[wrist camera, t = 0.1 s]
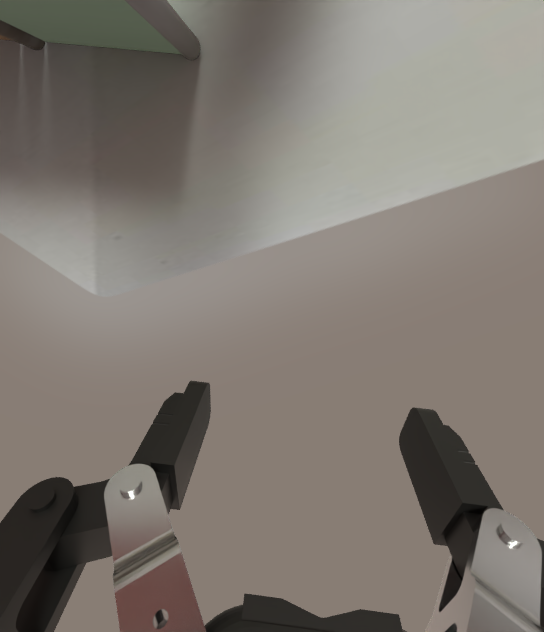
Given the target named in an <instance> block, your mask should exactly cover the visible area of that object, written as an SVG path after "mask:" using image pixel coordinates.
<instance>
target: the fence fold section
mask: <svg viewBox="0 0 544 632" xmlns="http://www.w3.org/2000/svg"><path fill="white" fill-rule="evenodd" d="M0 20H2V21H4V22H6V23H8V24H10V25H12V26H14V27H16V28H18V29H20V30H22V31H24V32H26V33H29V34H31V35H33V36H35V37H37V38H39V39H41V40H43V41H45V42H52V43H63V44H74V45H85V46H96V47H108V48H119V49H130V50H141V51H152V52H163V53H175V54H182V55H183V56H185V57H186V58H187V59H189V60H195V59H196V58H197V57H198V56H199V54H200V43H199V40H198V39H197V37H196V36H195V35H194V34H193V32H192V31H191V30H190V29H189V27H188V26H187V25H186V24H185V22H184V21H183V20H182V19H181V18H180V16H179V15H178V14H177V13H176V11H175V10H174V9H173V8H172V6H171V5H170V4H169V3H168V1H167V0H0Z"/></svg>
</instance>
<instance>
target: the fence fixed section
mask: <svg viewBox="0 0 544 632" xmlns="http://www.w3.org/2000/svg"><path fill="white" fill-rule="evenodd" d="M0 39H2V40H13V41H16V42H18V43H20V44H23V45H25V46H27V47H30V48H32V49H34V50H40V49H42V48H43V46H44V44H45V41H43V40H41V39H39V38H37V37H35V36H33V35H31V34H29V33H26V32H24V31H22V30H20V29H18V28H16V27H14V26H12V25H10V24H8V23H6V22H4V21H2V20H0Z"/></svg>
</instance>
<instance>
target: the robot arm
mask: <svg viewBox="0 0 544 632" xmlns="http://www.w3.org/2000/svg"><path fill="white" fill-rule="evenodd" d="M210 409H211V407H210V384H209V383H204V382H197V381H190V382H189V384H188V386H187V388H186V390H185V392H184V394H183V393H174V394H173V395H172V396H170V397H169V398H168V399H167V400H166V401H165V402H164V403H163V405H162V407H161V409H160V411H159V412H158V415H157V416H156V418H155V420H154V421H153V424H152V425H151V427H150V429H149V430H148V432H147V434H146V436H145V438H144V440H143V441H142V443H141V445H140V447H139V449H138V451H137V452H136V454H135V456H134V458H133V460H132V461H131V463H130V464H129V465H128V466H126V467H124V468H122V469H121V470H119V471H118V472H117V473H116V474H115V475H113V477H112V478H111V479H108V480H105V481H102V482H97V483H92V484H87V485H82V486H76V487H73V485H72V483H71V482H70V481H69V480H68V479H65V478H61V477H56V478H50V479H46V480H44V481H41V482H39V483H37V484H36V485H34V486H33V487H31V488H30V489H28V490H27V491H26V492H25V493H24V494H23V495H22V496H21V497H20V498H19V499H18V500H17V502H16V503H15V504H14V506H13V507H12V508H11V510H10V511H9V512H8V513H7V515H6V516H5V517H4V519H3V520H2V521H1V523H0V632H54V630H55V628H56V626H57V624H58V622H59V619H60V617H61V615H62V613H63V611H64V608H65V607H66V605H67V602H68V600H69V598H70V596H71V594H72V592H73V589H74V588H75V585H76V583H77V581H78V579H79V577H80V575H81V573H82V571H83V569H84V566H85V564H86V563H87V562H90V561H94V560H98V559H102V558H106V557H110V556H113V563H114V574H113V581H114V591H115V598H116V605H117V613H118V621H119V628H120V632H407V631H405V630H403V629H402V626H401V622H400V618H399V615H398V614H390V613H383V612H375V611H368V610H361V609H360V610H356V611H352V612H348V613H343V614H340V615H335V616H331V617H327V618H320V617H318V616H316V615H314V614H311V613H310V612H308V611H306V610H304V609H301V608H300V607H298V606H296V605H294V604H292V603H290V602H288V601H286V600H283V599H281V598H273V597H266V596H259V595H252V594H244V603H243V605H240V606H236V607H233V608H230V609H228V610H226V611H224V612H222V613H220V614H219V615H217V616H216V617H214V618H213V619H212V620H211V621H210V622H208V623H207V624H206V625H205V626H204V623H203V620H202V616H201V613H200V610H199V607H198V603H197V600H196V597H195V594H194V591H193V588H192V584H191V581H190V578H189V574H188V571H187V568H186V565H185V562H184V559H183V555H182V552H181V549H180V546H179V543H178V540H177V538H176V537H175V535H174V532H173V529H172V526H171V523H170V519H169V516H168V514H169V512H170V509H177V510H180V508H181V504H182V502H183V499H184V496H185V493H186V490H187V487H188V484H189V481H190V477H191V475H192V472H193V469H194V466H195V463H196V460H197V457H198V454H199V451H200V448H201V445H202V442H203V439H204V436H205V433H206V430H207V427H208V424H209V419H210V412H211V410H210ZM399 445H400V450H401V453H402V456H403V459H404V462H405V464H406V467H407V470H408V473H409V476H410V478H411V481H412V484H413V487H414V489H415V492H416V495H417V498H418V501H419V504H420V506H421V509H422V512H423V515H424V518H425V520H426V523H427V526H428V529H429V532H430V534H431V537H432V540H433V543H434V544H437V545H445V546H448V548H449V550H450V553H451V556H450V557H449V559H448V562H447V566H446V569H445V572H444V576H443V580H442V583H441V587H440V591H439V594H438V597H437V601H436V605H435V608H434V612H433V615H432V617H431V620H430V622H429V624H428V626H427V628H426V630H425V632H544V541H542V540H539V539H537V538H536V537H535V535H534V534H533V533H532V531H531V530H530V529H529V528H528V527H527V526H526V525H525V524H524V523H523V522H522V521H521V520H519V519H518V518H517V517H515V516H514V515H512V514H510V513H509V512H506V511H504V510H503V508H502V507H501V505H500V504H499V502H498V500H497V498H496V497H495V495H494V493H493V491H492V490H491V488H490V487H489V485H488V483H487V481H486V480H485V478H484V476H483V474H482V473H481V471H480V470H479V468H478V466H477V465H475V461H474V459H473V458H472V456H471V454H469V453H468V449H467V447H466V446H465V444H464V442H463V441H462V439H461V438H460V436H459V435H457V434H456V433H455V432H454V431H453V430H452V429H451V428H450V427H449V426H446V425H443V423H442V421H441V420H440V418H439V416H438V414H437V413H436V412H435V411H434V410H430V409H421V408H412V409H411V410H410V412H409V414H408V417H407V420H406V421H405V424H404V427H403V428H402V431H401V433H400V437H399Z"/></svg>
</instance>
